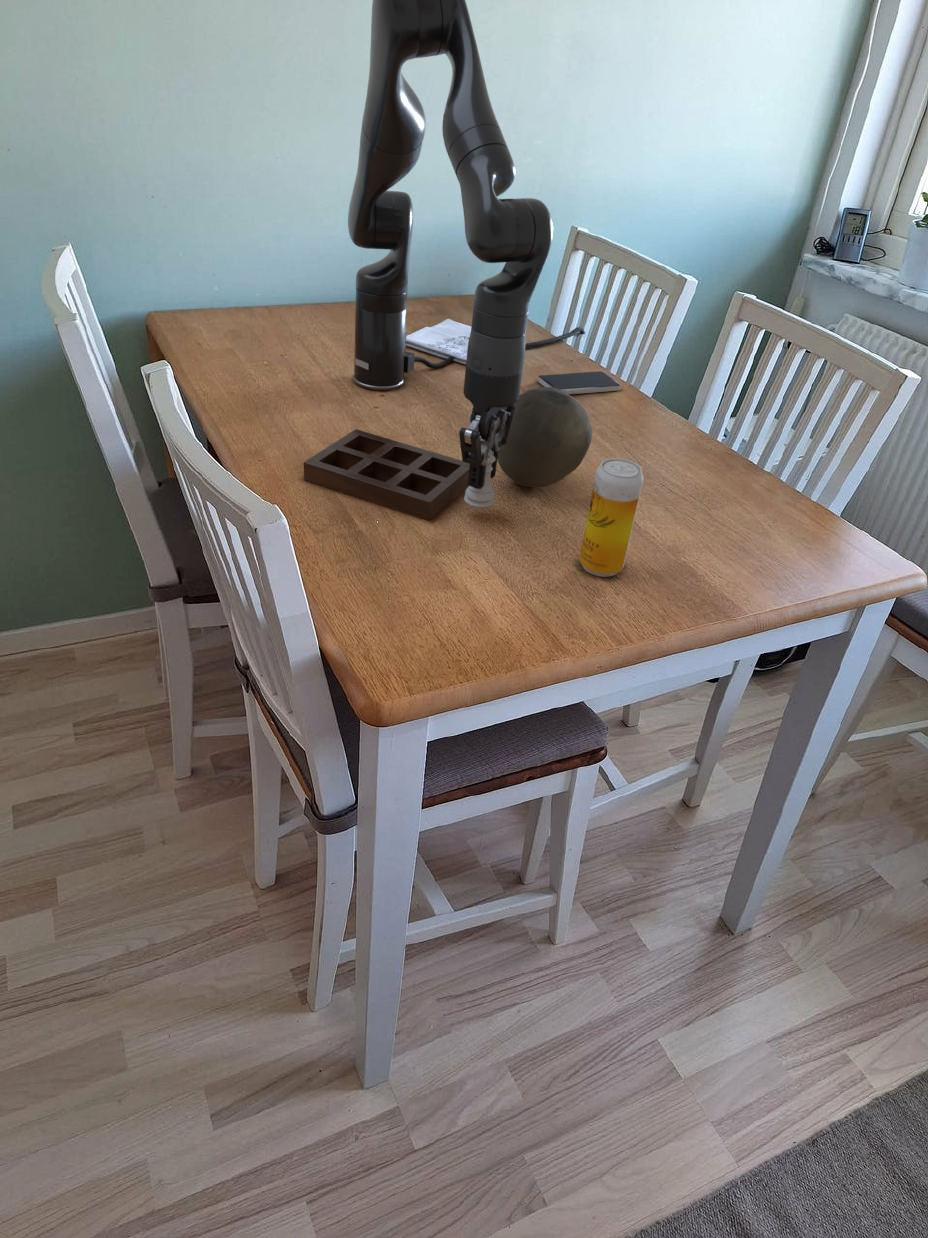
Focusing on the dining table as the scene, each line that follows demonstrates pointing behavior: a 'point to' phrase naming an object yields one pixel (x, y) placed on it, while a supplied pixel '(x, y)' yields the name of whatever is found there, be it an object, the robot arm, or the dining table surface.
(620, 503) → the beer can
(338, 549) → the dining table surface
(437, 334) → the white paper booklet
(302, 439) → the dining table surface
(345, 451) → the open grid frame
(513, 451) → the cantaloupe
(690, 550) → the dining table surface
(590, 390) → the smartphone
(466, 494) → the rook chess piece
